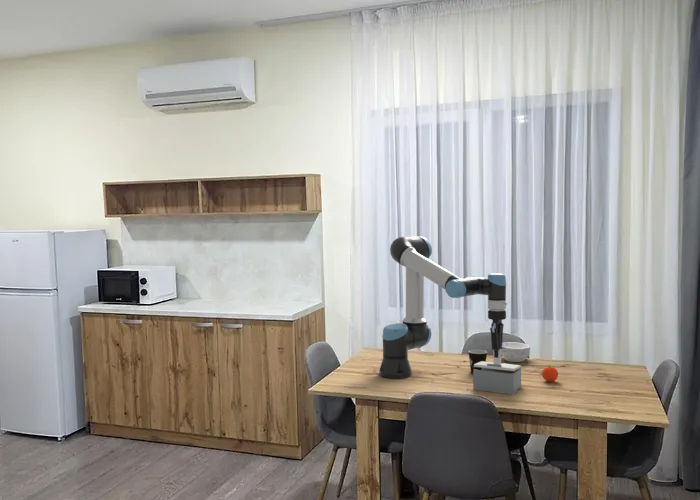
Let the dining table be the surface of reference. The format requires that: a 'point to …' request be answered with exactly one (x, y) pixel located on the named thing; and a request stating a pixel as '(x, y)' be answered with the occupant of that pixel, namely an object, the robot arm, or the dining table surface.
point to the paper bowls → (515, 351)
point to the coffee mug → (476, 358)
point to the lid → (497, 366)
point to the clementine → (550, 373)
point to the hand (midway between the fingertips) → (497, 364)
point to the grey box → (497, 380)
